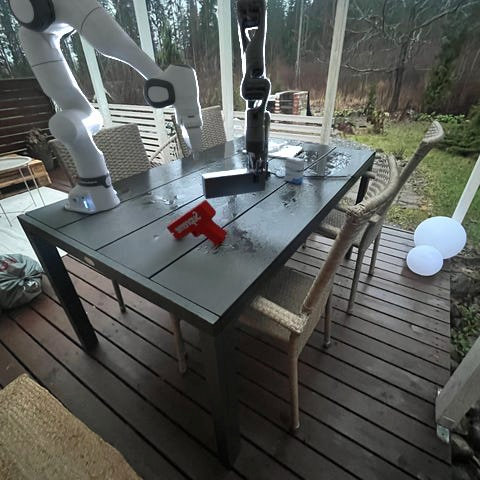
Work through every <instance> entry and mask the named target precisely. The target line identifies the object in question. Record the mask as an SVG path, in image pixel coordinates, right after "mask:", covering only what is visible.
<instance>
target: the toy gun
mask: <svg viewBox="0 0 480 480" xmlns="http://www.w3.org/2000/svg"><path fill="white" fill-rule="evenodd" d="M216 214H217V211H216V209H215V208H214V207H213V206H212V204H210V203H209V202H208V199H204V200H202V201H200V202H199V203H198V204H196V205H195V206H193V207H192V208H190V209H189V210H187V211H186V212H185V213H183V214H182V215H180V216H179V217H177V218H175V219H174V220H173V221H172V222H171V223H170V224H168V225H167V226H166V229H167V230H168V231H169V232H170V234H172V236H173V238H174V239H175V240H181V239H183V238H184V237H186V236H188V235H189V234H192V236H193V237H194V238H198V237H200V236H202V235H203V236H204V237H205V238H207V239H208V240H209V241H210V242H212V243H213V246H214V247H216V248H217V246H218V245H223V243H224V242H225V240H226V239H227V237H226V236H227V234H228V231H226V229H224V228H223V227H221V226H220V225H218V224H217V223H216V222H215V221H214V220H213V219H214V217H215V216H216Z"/></svg>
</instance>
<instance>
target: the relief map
mask: <svg viewBox="0 0 480 480" xmlns="http://www.w3.org/2000/svg"><path fill="white" fill-rule="evenodd" d="M302 147H303V146H294V145H292V144H290V143H289V142H288V141H284V142H282V143H280V144H279V143H278V142H276V141H273V140H272V139H271V138H269V145H268V157H271V158H277V159H285V160H286V159H287V158H289V157H296V156H297V155H298V154H299V153H300V152H302V151H303V150H304V148H303V149H302ZM242 153H243V154H246V151H245V150H242ZM296 153H297V154H296Z"/></svg>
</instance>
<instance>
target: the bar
mask: <svg viewBox="0 0 480 480" xmlns="http://www.w3.org/2000/svg"><path fill="white" fill-rule="evenodd" d="M255 170H256V169H255ZM266 180H267V179H266V170H264V169H263V171H262V174H259V183H256V184H255V183H254V171H253V169H252V168H248V167H247V168H242V169H240V168H239V169H232V170H224V171H216V172H207V173H201V183H202V195H203V197H204V198H205V200H210V199H217V198H224V197H232V196H238V195H245V194H253V193H260V192H266Z"/></svg>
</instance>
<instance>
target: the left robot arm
mask: <svg viewBox="0 0 480 480" xmlns="http://www.w3.org/2000/svg"><path fill="white" fill-rule="evenodd" d="M6 1H7V7H8V9H9V12H10V13H11V15H12V17H13V18H14V19H15V21H16V22H17V23H18V24H19V25H20V27H19V29H18V30H17V36H18V39H19V42H20V45H21V48H22V51H23V53H24V56H25V59H26V60H27V62H28V65H29V66H30V68H31V70H32V72H33V74H34V76H35V78H36V80H37V82H38V84H39V86H40V88H41V89H42V91H43V93H44V94H45V95H46V96H47V97H49V98H50V99H52V101H54V103H56V105H57V106H58V107H59V108H60V111H57V112H56V113H55V114H53V115H52V116H51V117H50V119H49V121H48V130H49V132H50V134H51V135H52V137H54V139H55V140H56V141H58V142H60V143H61V144H63V146H64V147H65V149H66V150H67V151H68V153H69V154H70V156H71V158H72V161H73V163H74V166H75V169H76V172H77V175H76V176H74V177H73V178H72V179H73V181H77V183H76V185H75V186H74V187H73V188H72V189H70V190H69V192H68V194H67V198H68V202H67V203H66V204H65V205H64V210H67V211H72V212H77V213H82V214H88V215H93V214H96V213H99V212H104V211H107V210H112V209H114V208H116V207H117V206H118V205H120V203H121V200H120V198H119V196H118V195H117V191H116V190H115V189H114V186H113V183H112V178H111V174H110V171H109V170H108V168H107V165H106V160H105V157H104V153H103V152H102V151H101V150H99V149H98V147H97V146H96V144H95V142H94V141H93V136H94V135H96V134H98V133H99V132H100V131H101V129H102V127H103V124H104V122H103V121H104V120H103V117H102V115H101V113H100V112H99V111H98V110H97V109H95V108H94V107H93V106H92V105H91V103H90V101H89V100H88V99H87V98H86V96H85V94H84V93H83V92H82V90H81V88H80V87H79V85H78V83H77V81H76V79H75V77H74V75H73V73H72V71H71V69H70V66H69V64H68V62H67V61H66V58H65V56H64V54H63V52H62V49H61V47H60V39H61V40H64V41H66V40H68V38H69V37H70V36H71V35H73V34H75V33H76V32H77V34H78V35H79V36H80V37H81V38H82V39H83V40H84V41H85V42H86V43H87V45H89V46H90V47H92V49H94V50H95V51H96V52H98V53H100V54H101V55H103V56H104V57H108V58H111V59H114V60H118V61H121V62H123V63H125V64H127V65H129V66H130V67H132V68H134V70H136V71H137V72H138V73H139V74H140V75H141V76H142V77H143V78H144V79H145V80H146V81H145V82H144V84H143V88H142V93H143V97H144V100H145V102H146V103H147V104H148V105H149V106H150V107H151V108H153V109H157V110H164V109H168V108H171V107H173V108H174V114H175V121H176V124H177V126H180V129H181V131H182V138H183V140H184V142H185V143H186V145H187V148H188V154H189V155H190V156H192V158H193V161H194V162H199V161H200V151H202V150H203V129H202V127H203V126H204V121H203V119H202V112H201V105H200V101H199V97H200V94H199V93H200V91H199V85H198V80H197V75H196V71H195V69H194V67H192V66H190V65H189V64H184V63H179V62H175V63H174V62H172V63H170V64H169V66H168V67H166V69H165V70H164V69H162V68H161V67H160V66H159V65H158V64H157V63H156V62H155V61H154V60H153V58H151V57H150V56H149V55H148V54H147V53H146V52H145V51H144V50H143V49H142V48H141V47H140V46H139V45H138V44H137V43H136V42H135V41H134V40H133V39H132V38H131V36H129V34H128V33H127V32H126V31H125V30H124V29H123V27H121V25H120V24H119V23H118V22H117V21H116V19H115V18H114V17H113V16H112V15H111V14H110V12H108V10H107V9H105V7H104V6H103V5H102V4H101V3H100V2H99V1H98V0H6Z"/></svg>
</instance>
